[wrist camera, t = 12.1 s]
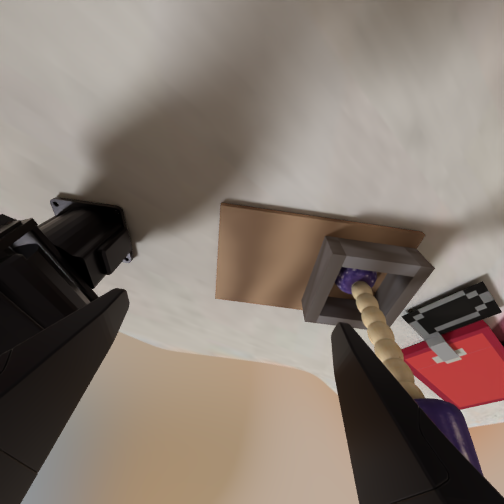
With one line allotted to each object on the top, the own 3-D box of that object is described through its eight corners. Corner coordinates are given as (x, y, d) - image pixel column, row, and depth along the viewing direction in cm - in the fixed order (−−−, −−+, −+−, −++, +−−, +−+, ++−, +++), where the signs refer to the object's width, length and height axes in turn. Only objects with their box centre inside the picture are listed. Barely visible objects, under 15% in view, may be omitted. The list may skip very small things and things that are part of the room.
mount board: (216, 294, 28) (210, 318, 25) (221, 202, 21) (214, 220, 18) (368, 314, 28) (380, 340, 25) (421, 231, 21) (446, 253, 19)
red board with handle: (496, 265, 23) (363, 326, 30) (521, 285, 21) (370, 345, 28) (558, 376, 35) (450, 401, 42) (578, 396, 32) (461, 419, 39)
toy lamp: (362, 294, 26) (472, 524, 12) (322, 288, 25) (387, 516, 12) (382, 261, 23) (556, 510, 9) (337, 254, 23) (446, 498, 9)
